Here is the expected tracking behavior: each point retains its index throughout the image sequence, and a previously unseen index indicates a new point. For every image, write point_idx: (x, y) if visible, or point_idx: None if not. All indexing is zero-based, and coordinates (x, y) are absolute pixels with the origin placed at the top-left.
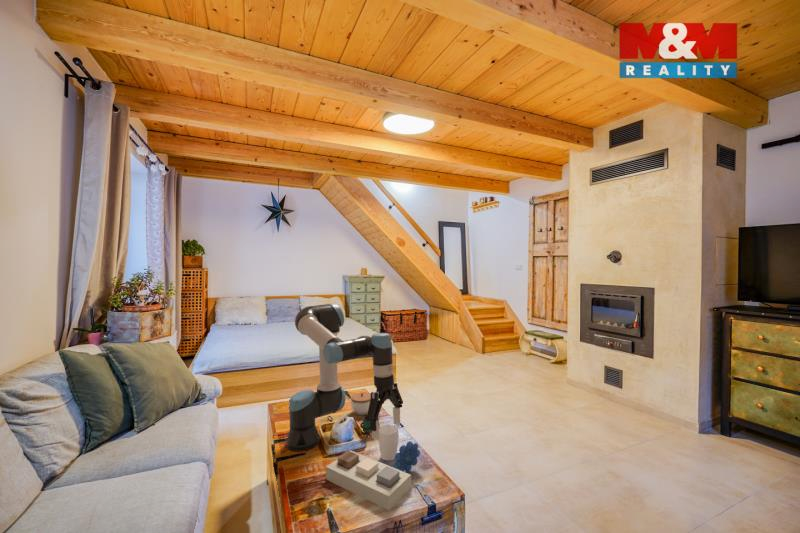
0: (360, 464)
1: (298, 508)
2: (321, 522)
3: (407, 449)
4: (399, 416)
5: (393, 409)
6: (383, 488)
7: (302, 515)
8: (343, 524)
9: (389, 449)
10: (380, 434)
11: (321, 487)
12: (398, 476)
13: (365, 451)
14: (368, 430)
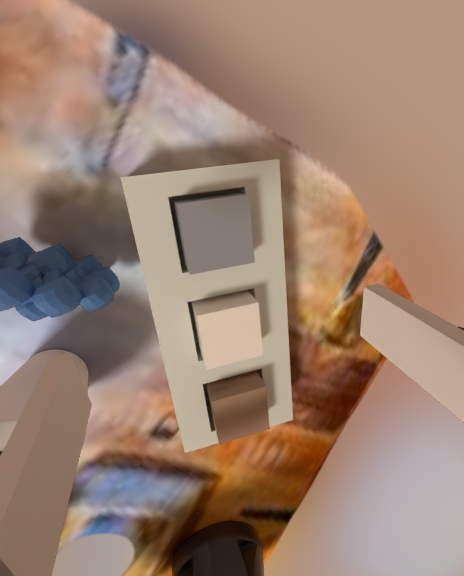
0: (249, 351)
1: None
2: (383, 271)
3: (32, 281)
4: (28, 423)
5: (48, 566)
6: (260, 206)
7: None
8: (363, 226)
9: None
10: None
11: (304, 374)
12: (183, 201)
13: (105, 442)
14: None
